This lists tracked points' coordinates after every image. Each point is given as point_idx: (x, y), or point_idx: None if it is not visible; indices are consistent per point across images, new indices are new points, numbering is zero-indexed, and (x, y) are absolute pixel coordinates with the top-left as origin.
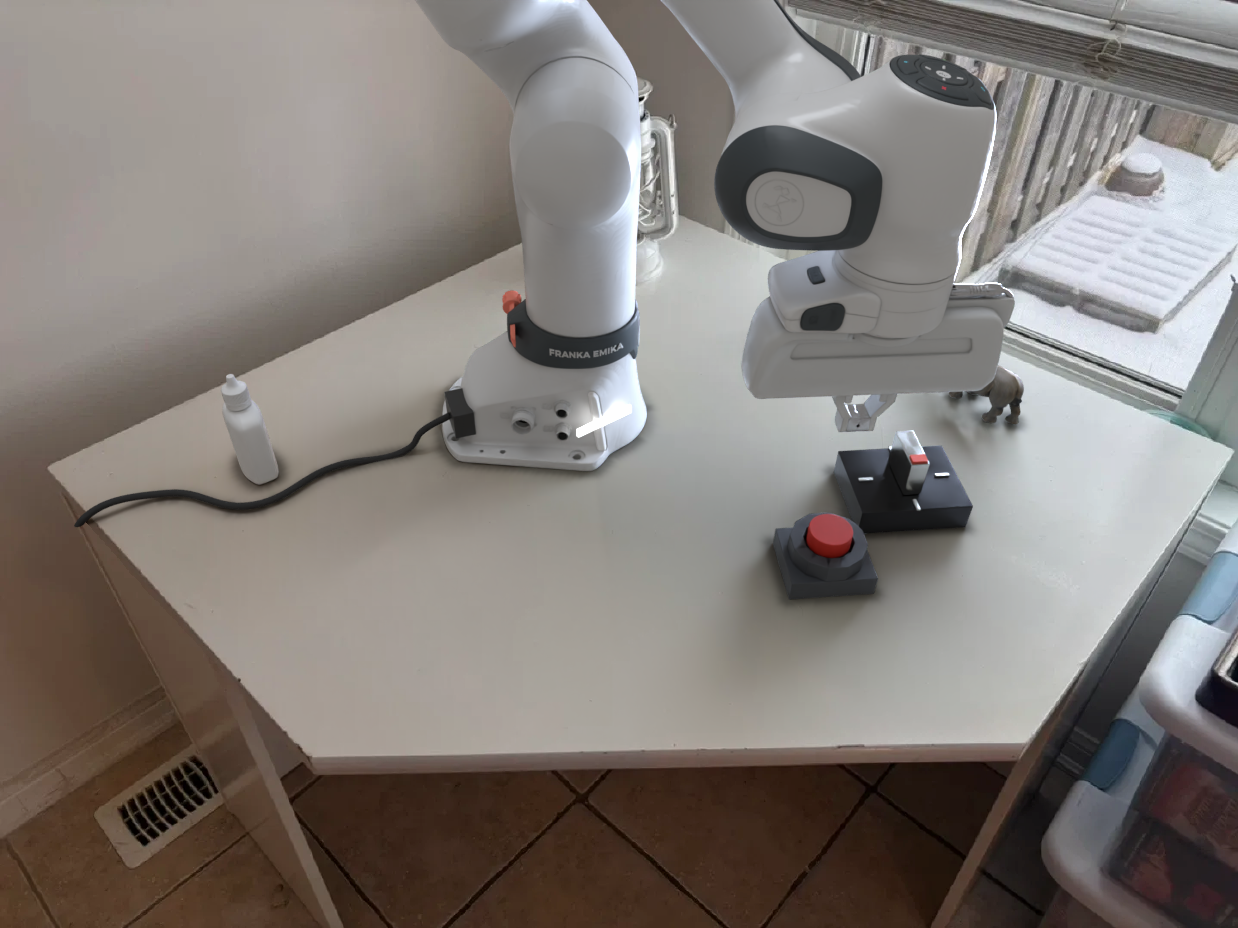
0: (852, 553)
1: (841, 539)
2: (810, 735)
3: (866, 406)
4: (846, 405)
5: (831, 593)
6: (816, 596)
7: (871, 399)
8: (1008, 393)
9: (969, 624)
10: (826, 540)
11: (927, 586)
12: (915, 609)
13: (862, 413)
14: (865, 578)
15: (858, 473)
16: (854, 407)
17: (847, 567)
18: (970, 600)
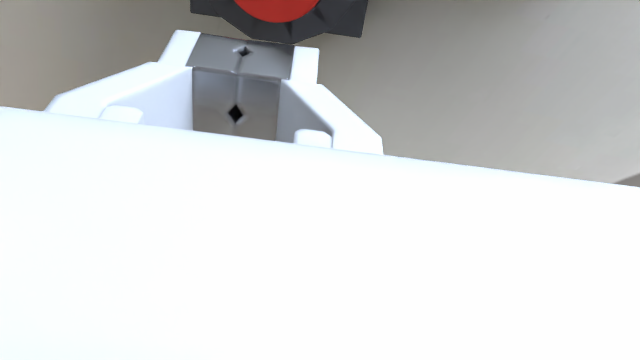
0: (314, 12)
1: (286, 8)
2: None
3: (281, 108)
4: (196, 76)
5: None
6: None
7: (297, 123)
8: None
9: (483, 110)
10: (251, 5)
11: (467, 25)
12: (415, 65)
13: (251, 133)
14: (335, 33)
15: None
16: (230, 91)
17: (290, 43)
18: (520, 70)
